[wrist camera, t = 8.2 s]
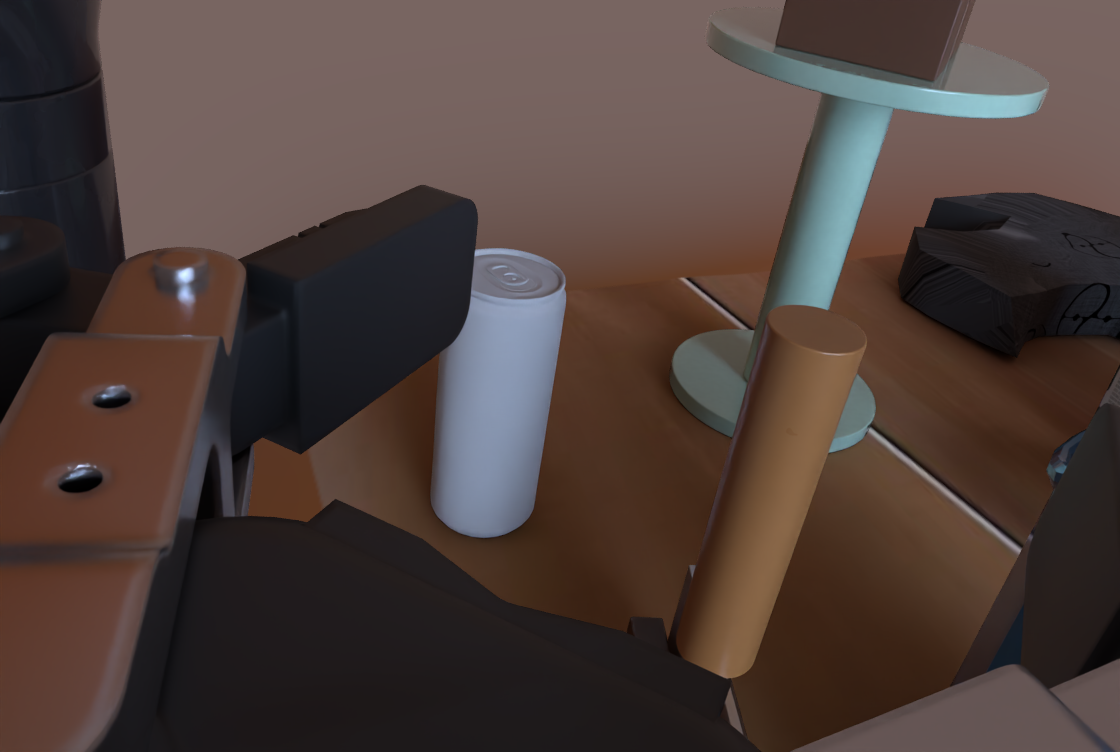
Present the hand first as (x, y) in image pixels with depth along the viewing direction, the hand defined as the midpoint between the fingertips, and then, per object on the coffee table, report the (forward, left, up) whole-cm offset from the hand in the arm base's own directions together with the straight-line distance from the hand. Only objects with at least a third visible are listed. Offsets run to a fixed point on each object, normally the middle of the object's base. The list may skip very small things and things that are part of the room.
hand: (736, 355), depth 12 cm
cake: (+14, +32, -2) cm, 35 cm away
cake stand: (+16, +35, -22) cm, 44 cm away
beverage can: (-1, +23, -22) cm, 32 cm away
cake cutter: (+5, +9, -22) cm, 24 cm away
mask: (+33, +41, -20) cm, 56 cm away
